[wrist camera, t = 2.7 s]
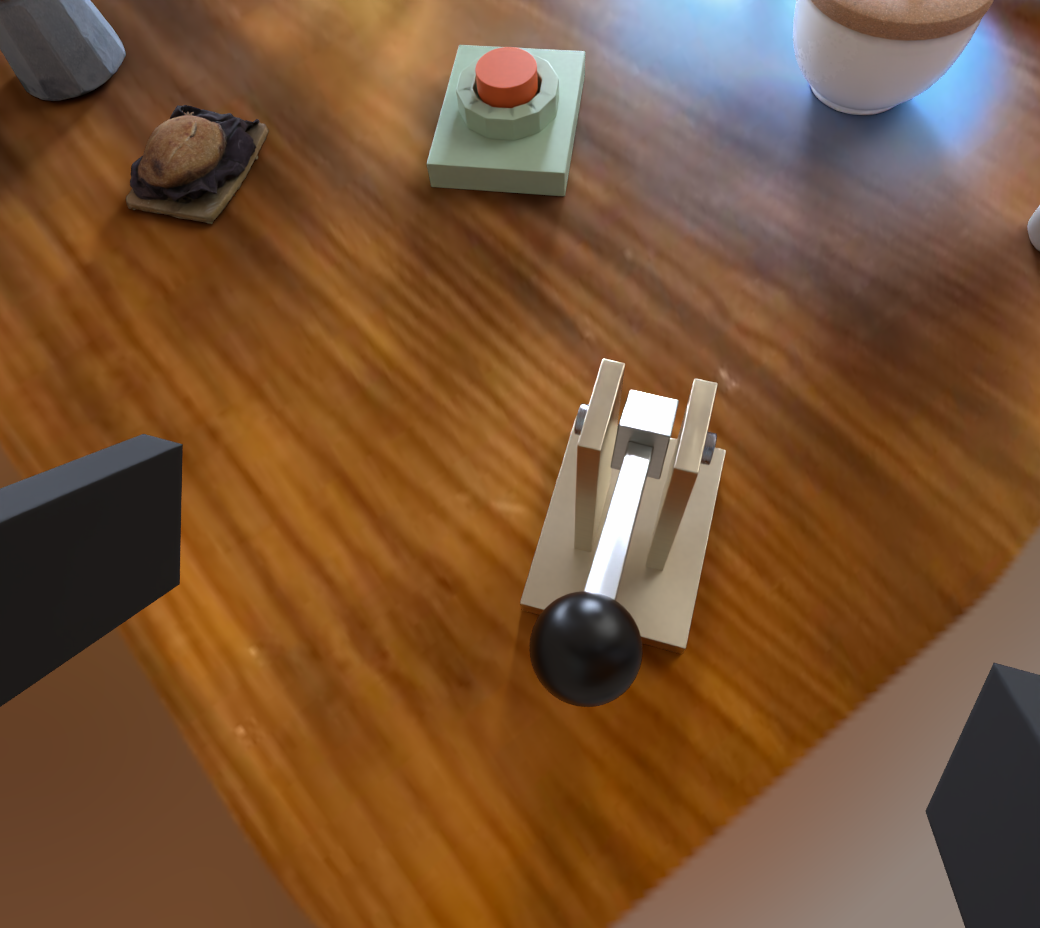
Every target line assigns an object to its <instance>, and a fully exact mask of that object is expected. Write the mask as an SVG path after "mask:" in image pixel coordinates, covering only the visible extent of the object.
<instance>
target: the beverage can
mask: <svg viewBox="0 0 1040 928" xmlns="http://www.w3.org/2000/svg"><path fill="white" fill-rule="evenodd" d="M1028 235H1029V238H1030V240H1031V243H1032V244H1033V245H1034V247H1035V248H1036V249H1037V250H1039V251H1040V205H1039V207H1038V208H1037V209H1036V211H1035V212H1034V213H1033V215H1032V216H1031V217H1030V220H1029V222H1028Z"/></svg>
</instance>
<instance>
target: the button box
mask: <svg viewBox="0 0 1040 928" xmlns="http://www.w3.org/2000/svg"><path fill="white" fill-rule="evenodd" d="M497 48H502V47H489V46H469V45H459V48H458V52H457V55H456V59H455V62H454V66H453V70H452V73H451V77H450V81H449V84H448V88H447V92H446V95H445V99H444V103H443V106H442V110H441V113H440V117H439V121H438V124H437V128H436V132H435V135H434V139H433V143H432V146H431V150H430V153H429V157H428V161H427V168H428V173H429V178H430V183H431V187H441V188H455V189H469V190H483V191H497V192H511V193H525V194H539V195H553V196H565V192H566V186H567V180H568V174H569V168H570V162H571V156H572V150H573V144H574V138H575V132H576V126H577V119H578V113H579V107H580V101H581V95H582V89H583V83H584V77H585V51H569V50H549V49H529V48H519V49H523V50H525V51H527V52H528V53H530V54H531V55H532V56H533V57H534V59H535V60H536V63H537V79H538V89H537V92H536V94H535V96H534V98H533V99H532V100H531V101H529V102H528V103H526V104H523V105H520V106H516V107H513V108H497V107H491V106H489V105H488V104H486V103H484V102H483V101H482V100H481V98H480V97H479V95H478V90H477V82H476V73H475V68H476V64H477V62H478V60H479V59H480V58H481V57H482V56H483V55H484V54H486V53H487V52H489V51H491V50H494V49H497Z"/></svg>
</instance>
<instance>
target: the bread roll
mask: <svg viewBox="0 0 1040 928" xmlns="http://www.w3.org/2000/svg"><path fill="white" fill-rule="evenodd" d="M183 110H184V111H183ZM182 111H183V112H182ZM184 112H185V113H186V114H184ZM268 131H269V130H268V129H267V126H266V125H265V124H262V123H259V120H258V119H256V120H255V121H254V122H250V121H244V120H242V119H240V118H236V117H234V116H233V115H232V114H231V113H229V114H218V113H215V112H212V111H207V110H200V109H198V108H195V107H192V106H187V105H184V106H177V107H176V109H175V110H174V112H173V113H172V115H171V117H170V120H168V121H166V122H164V123H162V124H161V125H160V126H158V127H157V128H156V129H155V130H154V132H153V133H152V135H151V136H150V138H149V140H148V142H147V145H146V148H145V151H144V154H143V156H141V158H139V159H138V160H137V161H135V162H134V163H133V164H132V167H131V180H130V186H131V187H132V190H131V191H130V193H129V194H128V195H127V197H126V203H127V206H128V208H129V209H131V208H132V209H133V210H135V209H138V210H143V211H147V212H150V211H151V212H153V213H157V214H165V215H171V216H173V217H177V218H182V219H183V218H184V219H190V220H191V219H192V220H194V221H201V222H206V223H207V224H208V223H211V224H212V222H213V220H215V219H216V217H218V216H217V215H220V214H219V213H222V210H223V209H224V208H225V207H226V205H227V204H228V201H229V200H231V198H232V195H234V196H235V194H234V193H235V192H236V191H237V189H239V187H240V186H241V184H242V183H241V182H242V181H243V180H244V179H246V176H247V173H248V172H249V170H250V169H251V165H252V164H253V163H254V160H255V159H258V152H259V150H260V149H261V145H262V144H263V143H264V141H265V140H266V136H267V133H268Z"/></svg>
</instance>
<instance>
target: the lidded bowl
mask: <svg viewBox="0 0 1040 928" xmlns="http://www.w3.org/2000/svg"><path fill="white" fill-rule="evenodd" d="M993 1H994V0H796V5H795V13H794V23H793V44H794V50H795V56H796V60H797V62H798V65H799V68H800V70H801V72H802V74H803V75H804V77H805V78H806V80H807V81H808V83H809V84H810V87H811V89H812V91H813V93H814V94H815V96H816V97H817V98H818V99H819V100H820V101H821V102H823V103H824V104H825V105H827V106H829V107H831V108H833V109H835V110H837V111H840V112H844V113H848V114H853V115H872V114H878V113H882V112H885V111H887V110H889V109H891V108H893V107H894V106H896V105H898V104H901V103H903V102H906V101H908V100H911V99H913V98H914V97H916V96H918V95H919V94H921V93H923V92H924V91H926V90H927V89H929V88H930V87H931V86H932V85H933V84H935V83H936V82H937V81H938V80H939V79H940V78H941V77H942V76H943V75H944V74H945V73H946V72H947V71H948V70H949V68H950V67H951V66H952V65H953V64H954V62H955V61H956V60H957V59H958V57H959V56H960V55H961V53H962V52H963V50H964V49H965V47H966V46H967V44H968V43H969V41H970V40H971V38H972V36H973V34H974V33H975V31H976V29H977V27H978V25H979V23H980V21H981V19H982V17H983V16H984V14H985V13H986V12H987V10H988V9H989V8H990V6H991V4H992V3H993Z"/></svg>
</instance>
